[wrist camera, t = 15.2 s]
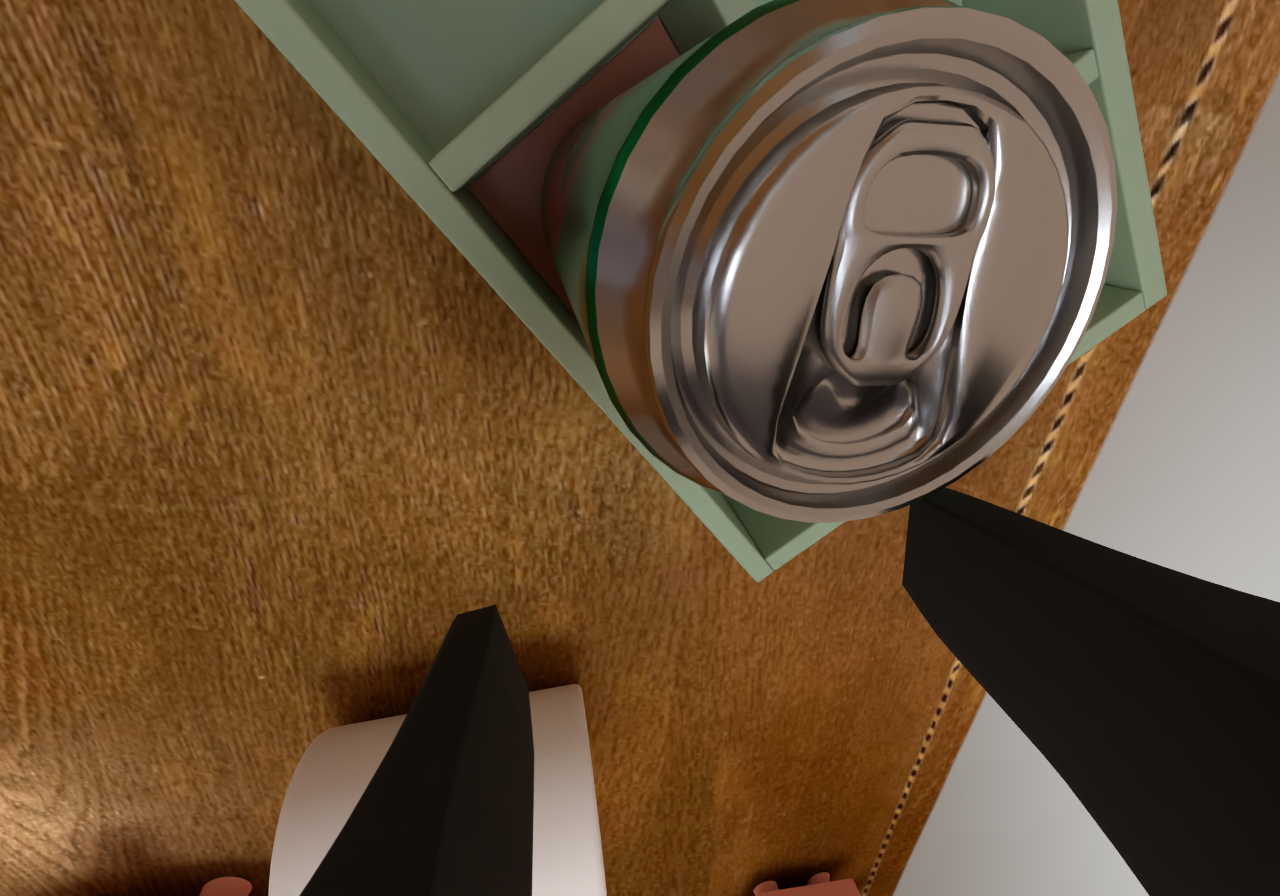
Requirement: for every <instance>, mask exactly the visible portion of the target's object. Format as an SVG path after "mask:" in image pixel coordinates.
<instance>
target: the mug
mask: <svg viewBox="0 0 1280 896" xmlns="http://www.w3.org/2000/svg"><path fill="white" fill-rule="evenodd" d="M529 699H530V710H531V720H532V731H533V743H534V816H533V870H532V896H607V892H606V882H605V873H604V864H603V855H602V846H601V837H600V828H599V820H598V811H597V803H596V794H595V786H594V778H593V770H592V761H591V753H590V745H589V738H588V730H587V722H586V715H585V707H584V700H583V694H582V689H581V687H580V686H579V685H578V684H571V685H565V686H560V687H554V688H549V689H543V690H538V691H532V692H529ZM406 715H407V714H405V715H399V716H394V717H388V718H383V719H377V720H371V721H366V722H360V723H355V724H349V725H344V726H338V727H333V728H330V729H327V730H325V731H324V732H322V733H321V734H320V735H318V736H317V737H316V738H315V739H314V740H313V741H312V743H311V744H310V745H309V746H308V748H307V749H306V751H305V752H304V754H303V756H302V758H301V759H300V761H299V763H298V765H297V767H296V769H295V772H294V774H293V776H292V779H291V781H290V784H289V787H288V789H287V792H286V796H285V799H284V802H283V806H282V809H281V813H280V817H279V821H278V825H277V830H276V835H275V840H274V846H273V852H272V859H271V867H270V877H269V892H268V896H299V895H300V894H301V892H302V891H303V889H304V888H305V886H306V885H307V883H308V882H309V880H310V879H311V877H312V876H313V874H314V873H315V871H316V870H317V868H318V866H319V865H320V863H321V862H322V860H323V859H324V857H325V856H326V854H327V852H328V851H329V849H330V848H331V846H332V844H333V843H334V841H335V840H336V838H337V836H338V835H339V833H340V832H341V830H342V828H343V827H344V825H345V823H346V822H347V820H348V818H349V817H350V815H351V813H352V812H353V810H354V808H355V806H356V805H357V803H358V801H359V800H360V798H361V796H362V794H363V793H364V791H365V789H366V788H367V786H368V784H369V782H370V781H371V779H372V777H373V776H374V774H375V772H376V770H377V769H378V767H379V765H380V764H381V762H382V760H383V758H384V757H385V755H386V753H387V751H388V749H389V747H390V746H391V744H392V742H393V740H394V738H395V736H396V734H397V732H398V731H399V729H400V727H401V725H402V723H403V721H404V719H405V717H406Z"/></svg>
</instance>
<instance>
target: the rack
mask: <svg viewBox="0 0 1280 896" xmlns="http://www.w3.org/2000/svg"><path fill="white" fill-rule="evenodd" d="M234 1H235V2H236V3H237V4H238V5H239V6H240V7H241V8H242V10H243V11H244V12H245V13H246V14H247V15H248V16H249V17H250V19H251V20H252V21H253V22H254V23H255V24H256V25H257V26H258V27H259V29H260V30H261V31H262V32H263V33H264V34H265V35H266V36H267V37H268V39H269V40H270V41H271V42H272V43H273V44H274V45H275V46H276V47H277V49H278V50H279V51H280V52H281V53H282V54H283V55H284V56H285V58H286V59H287V60H288V61H289V62H290V63H291V64H292V65H293V66H294V68H295V69H296V70H297V71H298V72H299V73H300V74H301V75H302V76H303V78H304V79H305V80H306V81H307V82H308V83H309V84H310V85H311V87H312V88H313V89H314V90H315V91H316V92H317V93H318V94H319V95H320V97H321V98H322V99H323V100H324V101H325V102H326V103H327V104H328V105H329V107H330V108H331V109H332V110H333V111H334V112H335V113H336V114H337V115H338V117H339V118H340V119H341V120H342V121H343V122H344V123H345V124H346V126H347V127H348V128H349V129H350V130H351V131H352V132H353V133H354V134H355V136H356V137H357V138H358V139H359V140H360V141H361V142H362V143H363V144H364V146H365V147H366V148H367V149H368V150H369V151H370V152H371V153H372V155H373V156H374V157H375V158H376V159H377V160H378V161H379V162H380V163H381V165H382V166H383V167H384V168H385V169H386V170H387V171H388V172H389V173H390V175H391V176H392V177H393V178H394V179H395V180H396V181H397V182H398V183H399V185H400V186H401V187H402V188H403V189H404V190H405V191H406V192H407V194H408V195H409V196H410V197H411V198H412V199H413V200H414V201H415V202H416V204H417V205H418V206H419V207H420V208H421V209H422V210H423V211H424V212H425V214H426V215H427V216H428V217H429V218H430V219H431V220H432V221H433V223H434V224H435V225H436V226H437V227H438V228H439V229H440V230H441V231H442V233H443V234H444V235H445V236H446V237H447V238H448V239H449V240H450V241H451V243H452V244H453V245H454V246H455V247H456V248H457V249H458V250H459V251H460V253H461V254H462V255H463V256H464V257H465V258H466V259H467V260H468V262H469V263H470V264H471V265H472V266H473V267H474V268H475V269H476V270H477V272H478V273H479V274H480V275H481V276H482V277H483V278H484V279H485V280H486V282H487V283H488V284H489V285H490V286H491V287H492V288H493V289H494V291H495V292H496V293H497V294H498V295H499V296H500V297H501V298H502V299H503V301H504V302H505V303H506V304H507V305H508V306H509V307H510V308H511V309H512V311H513V312H514V313H515V314H516V315H517V316H518V317H519V318H520V319H521V321H522V322H523V323H524V324H525V325H526V326H527V327H528V328H529V330H530V331H531V332H532V333H533V334H534V335H535V336H536V337H537V338H538V340H539V341H540V342H541V343H542V344H543V345H544V346H545V347H546V348H547V350H548V351H549V352H550V353H551V354H552V355H553V356H554V357H555V359H556V360H557V361H558V362H559V363H560V364H561V365H562V366H563V367H564V369H565V370H566V371H567V372H568V373H569V374H570V375H571V376H572V377H573V379H574V380H575V381H576V382H577V383H578V384H579V385H580V386H581V387H582V389H583V390H584V391H585V392H586V393H587V394H588V395H589V396H590V398H591V399H592V400H593V401H594V402H595V403H596V404H597V405H598V406H599V408H600V409H601V410H602V411H603V412H604V413H605V414H606V415H607V416H608V418H609V419H610V420H611V421H612V422H613V423H614V424H615V425H616V427H617V428H618V429H619V430H620V431H621V432H622V433H623V434H624V435H625V437H626V438H627V439H628V440H629V441H630V442H631V443H632V444H633V445H634V447H635V448H636V449H637V450H638V451H639V452H640V453H641V454H642V455H643V457H644V458H645V459H646V460H647V461H648V462H649V463H650V464H651V466H652V467H653V468H654V469H655V470H656V471H657V472H658V473H659V474H660V476H661V477H662V478H663V479H664V480H665V481H666V482H667V483H668V484H669V486H670V487H671V488H672V489H673V490H674V491H675V492H676V493H677V495H678V496H679V497H680V498H681V499H682V500H683V501H684V502H685V503H686V505H687V506H688V507H689V508H690V509H691V510H692V511H693V512H694V513H695V515H696V516H697V517H698V518H699V519H700V520H701V521H702V522H703V523H704V525H705V526H706V527H707V528H708V529H709V530H710V531H711V532H712V534H713V535H714V536H715V537H716V538H717V539H718V540H719V541H720V542H721V544H722V545H723V546H724V547H725V548H726V549H727V550H728V551H729V552H730V554H731V555H732V556H733V557H734V558H735V559H736V560H737V561H738V563H739V564H740V565H741V566H742V567H743V568H744V569H745V570H746V571H747V573H748V574H749V575H750V576H751V577H752V578H753V579H754V580H755V581H756V582H759V581H761V580H762V579H764V578H765V577H767V576H768V575H769V574H771V573H772V572H773V569H774V570H777V569H778V568H780V567H781V566H782V565H784V564H785V563H787V562H788V561H790V560H791V559H792V558H794V557H795V556H797V555H798V554H799V553H801V552H802V551H804V550H805V549H807V548H808V547H809V546H811V545H812V544H814V543H815V542H817V541H818V540H819V539H821V538H822V537H824V536H825V535H826V534H828V533H829V532H831V531H832V530H834V529H835V528H836V527H838V526H839V525H841V524H842V523H844V522H830V523H809V522H802V521H794V520H787V519H781V518H778V517H775V516H772V515H768V514H765V513H762V512H759V511H756V510H753V509H752V508H750V507H748V506H746V505H744V504H742V503H740V502H738V501H736V500H734V499H732V498H730V497H729V496H727V495H725V494H724V493H722V492H719V491H715V490H712V489H709V488H706V487H703V486H701V485H699V484H697V483H695V482H693V481H691V480H689V479H687V478H685V477H683V476H681V475H679V474H678V473H676V472H674V471H673V470H672V469H670V468H669V467H668V466H666V465H665V464H664V463H662V462H661V461H660V460H659V459H657V458H656V457H655V456H653V455H652V454H651V453H650V452H649V451H648V450H647V449H646V448H645V447H644V446H643V444H642V443H641V442H640V441H639V440H638V439H637V438H636V437H635V436H634V435H633V434H632V433H631V431H630V430H629V429H628V427H627V426H626V424H625V423H624V421H623V420H622V418H621V416H620V415H619V413H618V412H617V410H616V409H615V407H614V406H613V404H612V402H611V401H610V398H609V396H608V393H607V391H606V389H605V386H604V384H603V382H602V379H601V377H600V375H599V372H598V370H597V368H596V365H595V363H594V360H593V358H592V355H591V353H590V350H589V348H588V345H587V343H586V340H585V338H584V335H583V333H582V330H581V328H580V325H579V323H578V320H577V318H576V315H575V313H574V310H573V308H572V305H571V303H570V300H569V298H568V295H567V293H566V290H565V288H564V285H563V283H562V280H561V278H560V275H559V273H558V270H557V268H556V265H555V263H554V260H553V258H552V255H551V253H550V250H549V248H548V245H547V243H546V239H545V235H544V231H543V227H542V219H541V191H542V186H543V181H544V176H545V173H546V170H547V167H548V165H549V162H550V159H551V157H552V156H553V154H554V152H555V150H556V148H557V146H558V145H559V143H560V142H561V141H562V139H563V138H564V137H565V136H566V134H567V133H568V132H569V131H570V130H571V129H572V128H573V127H574V126H575V125H576V124H577V123H578V122H579V121H580V120H582V119H583V118H585V117H586V116H588V115H590V114H591V113H593V112H594V111H596V110H597V109H599V108H600V107H602V106H603V105H605V104H607V103H608V102H610V101H611V100H613V99H614V98H616V97H617V96H619V95H620V94H622V93H624V92H625V91H627V90H628V89H630V88H631V87H633V86H634V85H636V84H637V83H639V82H641V81H642V80H644V79H645V78H647V77H648V76H650V75H651V74H653V73H654V72H656V71H658V70H659V69H661V68H662V67H664V66H665V65H667V64H668V63H670V62H671V61H673V60H675V59H676V58H678V57H679V56H681V55H682V54H684V53H685V52H687V51H688V50H690V49H692V48H693V47H695V46H696V45H698V44H699V43H701V42H702V41H704V40H705V39H707V38H709V37H710V36H712V35H713V34H715V33H716V32H718V31H719V30H721V29H723V28H724V27H726V26H727V25H729V24H730V23H732V22H733V21H735V20H736V19H738V18H740V17H741V16H743V15H744V14H746V13H747V12H749V11H750V10H752V9H754V8H756V7H758V6H760V5H763V4H765V3H768V2H770V1H772V0H234ZM949 1H951V2H953V3H955V4H957V5H959V6H961V7H965V8H970V9H974V10H978V11H982V12H986V13H990V14H994V15H999V16H1003V17H1007V18H1009V19H1011V20H1013V21H1015V22H1017V23H1019V24H1021V25H1022V26H1024V27H1026V28H1028V29H1030V30H1032V31H1034V32H1036V33H1038V34H1040V35H1042V36H1043V37H1044V38H1045V39H1046V40H1047V41H1049V42H1050V43H1051V44H1052V45H1053V46H1054V47H1055V48H1056V49H1057V50H1059V51H1060V52H1061V53H1062V54H1063V55H1064V56H1065V57H1066V58H1068V59H1069V60H1070V61H1071V62H1072V64H1073V65H1074V67H1075V68H1076V70H1077V71H1078V72H1079V74H1080V75H1081V77H1082V78H1083V80H1084V81H1085V82H1086V84H1087V85H1088V87H1089V88H1090V89H1091V91H1092V93H1093V95H1094V97H1095V100H1096V102H1097V104H1098V107H1099V109H1100V111H1101V114H1102V116H1103V118H1104V121H1105V123H1106V125H1107V129H1108V133H1109V138H1110V142H1111V147H1112V151H1113V156H1114V160H1115V166H1116V184H1117V214H1116V225H1115V237H1114V244H1113V249H1112V253H1111V258H1110V262H1109V267H1108V271H1107V276H1106V280H1105V283H1104V286H1103V288H1102V291H1101V294H1100V297H1099V300H1098V303H1097V306H1096V308H1095V311H1094V314H1093V317H1092V319H1091V321H1090V323H1089V325H1088V327H1087V329H1086V331H1085V334H1084V336H1083V338H1082V340H1081V342H1080V344H1079V346H1078V348H1077V350H1076V352H1075V354H1074V355H1073V357H1072V359H1071V360H1070V362H1069V363H1068V364H1070V363H1071V362H1073V361H1074V360H1075V359H1077V358H1078V357H1080V356H1081V355H1083V354H1084V353H1085V352H1087V351H1088V350H1090V349H1091V348H1092V347H1094V346H1095V345H1097V344H1098V343H1100V342H1101V341H1102V340H1104V339H1105V338H1107V337H1108V336H1110V335H1111V334H1112V333H1114V332H1115V331H1117V330H1118V329H1120V328H1121V327H1122V326H1124V325H1125V324H1127V323H1128V322H1129V321H1131V320H1132V319H1134V318H1135V317H1137V316H1138V315H1139V314H1141V313H1142V312H1144V311H1145V309H1147V308H1149V307H1151V306H1152V305H1153V304H1155V303H1156V302H1158V301H1159V300H1161V299H1162V298H1163V297H1165V296H1166V295H1167V290H1166V284H1165V278H1164V272H1163V266H1162V260H1161V254H1160V248H1159V242H1158V237H1157V231H1156V225H1155V219H1154V213H1153V207H1152V201H1151V195H1150V189H1149V183H1148V178H1147V172H1146V166H1145V160H1144V154H1143V148H1142V142H1141V136H1140V130H1139V124H1138V119H1137V113H1136V107H1135V101H1134V95H1133V89H1132V83H1131V77H1130V71H1129V65H1128V60H1127V54H1126V48H1125V42H1124V36H1123V30H1122V24H1121V18H1120V12H1119V6H1118V0H949Z"/></svg>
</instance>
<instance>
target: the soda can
mask: <svg viewBox="0 0 1280 896" xmlns="http://www.w3.org/2000/svg"><path fill="white" fill-rule="evenodd" d="M1116 214H1117V184H1116V166H1115V160H1114V156H1113V151H1112V147H1111V142H1110V138H1109V133H1108V129H1107V125H1106V123H1105V121H1104V118H1103V116H1102V114H1101V111H1100V109H1099V107H1098V104H1097V102H1096V100H1095V97H1094V95H1093V93H1092V91H1091V89H1090V88H1089V87H1088V85H1087V84H1086V82H1085V81H1084V80H1083V78H1082V77H1081V75H1080V74H1079V72H1078V71H1077V70H1076V68H1075V67H1074V65H1073V64H1072V62H1071V61H1070V60H1069V59H1068V58H1066V57H1065V56H1064V55H1063V54H1062V53H1061V52H1060V51H1059V50H1057V49H1056V48H1055V47H1054V46H1053V45H1052V44H1051V43H1050V42H1049V41H1047V40H1046V39H1045V38H1044V37H1043V36H1042V35H1040V34H1038V33H1036V32H1034V31H1032V30H1030V29H1028V28H1026V27H1024V26H1022V25H1021V24H1019V23H1017V22H1015V21H1013V20H1011V19H1009V18H1007V17H1003V16H999V15H994V14H990V13H986V12H982V11H978V10H974V9H970V8H965V7H961V6H959V5H957V4H955V3H953V2H951V1H949V0H772V1H770V2H768V3H765V4H763V5H760V6H758V7H756V8H754V9H752V10H750V11H749V12H747V13H746V14H744V15H743V16H741V17H740V18H738V19H736V20H735V21H733V22H732V23H730V24H729V25H727V26H726V27H724V28H723V29H721V30H719V31H718V32H716V33H715V34H713V35H712V36H710V37H709V38H707V39H705V40H704V41H702V42H701V43H699V44H698V45H696V46H695V47H693V48H692V49H690V50H688V51H687V52H685V53H684V54H682V55H681V56H679V57H678V58H676V59H675V60H673V61H671V62H670V63H668V64H667V65H665V66H664V67H662V68H661V69H659V70H658V71H656V72H654V73H653V74H651V75H650V76H648V77H647V78H645V79H644V80H642V81H641V82H639V83H637V84H636V85H634V86H633V87H631V88H630V89H628V90H627V91H625V92H624V93H622V94H620V95H619V96H617V97H616V98H614V99H613V100H611V101H610V102H608V103H607V104H605V105H603V106H602V107H600V108H599V109H597V110H596V111H594V112H593V113H591V114H590V115H588V116H586V117H585V118H583V119H582V120H580V121H579V122H578V123H577V124H576V125H575V126H574V127H573V128H572V129H571V130H570V131H569V132H568V133H567V134H566V136H565V137H564V138H563V139H562V141H561V142H560V143H559V145H558V146H557V148H556V150H555V152H554V154H553V156H552V157H551V159H550V162H549V165H548V167H547V170H546V173H545V176H544V181H543V186H542V191H541V219H542V227H543V231H544V235H545V239H546V243H547V245H548V248H549V250H550V253H551V255H552V258H553V260H554V263H555V265H556V268H557V270H558V273H559V275H560V278H561V280H562V283H563V285H564V288H565V290H566V293H567V295H568V298H569V300H570V303H571V305H572V308H573V310H574V313H575V315H576V318H577V320H578V323H579V325H580V328H581V330H582V333H583V335H584V338H585V340H586V343H587V345H588V348H589V350H590V353H591V355H592V358H593V360H594V363H595V365H596V368H597V370H598V372H599V375H600V377H601V379H602V382H603V384H604V386H605V389H606V391H607V393H608V396H609V398H610V401H611V402H612V404H613V406H614V407H615V409H616V410H617V412H618V413H619V415H620V416H621V418H622V420H623V421H624V423H625V424H626V426H627V427H628V429H629V430H630V431H631V433H632V434H633V435H634V436H635V437H636V438H637V439H638V440H639V441H640V442H641V443H642V444H643V446H644V447H645V448H646V449H647V450H648V451H649V452H650V453H651V454H652V455H653V456H655V457H656V458H657V459H659V460H660V461H661V462H662V463H664V464H665V465H666V466H668V467H669V468H670V469H672V470H673V471H674V472H676V473H678V474H679V475H681V476H683V477H685V478H687V479H689V480H691V481H693V482H695V483H697V484H699V485H701V486H703V487H706V488H709V489H712V490H715V491H719V492H722V493H724V494H725V495H727V496H729V497H730V498H732V499H734V500H736V501H738V502H740V503H742V504H744V505H746V506H748V507H750V508H752V509H753V510H756V511H759V512H762V513H765V514H768V515H772V516H775V517H778V518H781V519H787V520H794V521H802V522H809V523H830V522H845V521H852V520H858V519H865V518H870V517H874V516H877V515H880V514H884V513H887V512H891V511H894V510H898V509H900V508H903V507H905V506H907V505H910V504H912V503H915V502H917V501H919V500H922V499H924V498H926V497H928V496H930V495H932V494H934V493H935V492H937V491H939V490H941V489H943V488H944V487H946V486H948V485H950V484H952V483H953V482H955V481H957V480H958V479H959V478H961V477H962V476H964V475H965V474H967V473H968V472H969V471H971V470H972V469H974V468H975V467H976V466H978V465H979V464H981V463H982V462H983V461H985V460H986V459H987V458H988V457H989V456H990V455H991V454H993V453H994V452H995V451H996V450H997V449H998V448H999V447H1001V446H1002V445H1003V444H1004V443H1005V442H1006V441H1007V440H1008V439H1010V438H1011V437H1012V435H1013V434H1014V433H1015V432H1016V431H1017V430H1018V429H1019V428H1020V427H1021V426H1022V425H1023V424H1024V423H1025V422H1026V420H1027V419H1028V418H1029V417H1030V416H1031V415H1032V414H1033V413H1034V412H1035V410H1036V409H1037V408H1038V407H1039V405H1040V404H1041V403H1042V401H1043V400H1044V399H1045V397H1046V396H1047V395H1048V393H1049V392H1050V391H1051V389H1052V388H1053V387H1054V386H1055V384H1056V383H1057V381H1058V380H1059V378H1060V376H1061V375H1062V373H1063V372H1064V370H1065V368H1066V367H1067V365H1068V363H1069V362H1070V360H1071V359H1072V357H1073V355H1074V354H1075V352H1076V350H1077V348H1078V346H1079V344H1080V342H1081V340H1082V338H1083V336H1084V334H1085V331H1086V329H1087V327H1088V325H1089V323H1090V321H1091V319H1092V317H1093V314H1094V311H1095V308H1096V306H1097V303H1098V300H1099V297H1100V294H1101V291H1102V288H1103V286H1104V283H1105V280H1106V276H1107V271H1108V267H1109V262H1110V258H1111V253H1112V249H1113V244H1114V237H1115V225H1116Z"/></svg>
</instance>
